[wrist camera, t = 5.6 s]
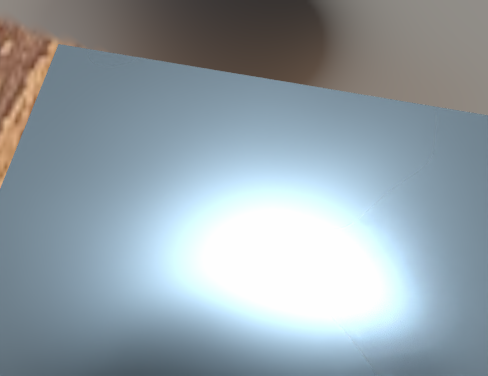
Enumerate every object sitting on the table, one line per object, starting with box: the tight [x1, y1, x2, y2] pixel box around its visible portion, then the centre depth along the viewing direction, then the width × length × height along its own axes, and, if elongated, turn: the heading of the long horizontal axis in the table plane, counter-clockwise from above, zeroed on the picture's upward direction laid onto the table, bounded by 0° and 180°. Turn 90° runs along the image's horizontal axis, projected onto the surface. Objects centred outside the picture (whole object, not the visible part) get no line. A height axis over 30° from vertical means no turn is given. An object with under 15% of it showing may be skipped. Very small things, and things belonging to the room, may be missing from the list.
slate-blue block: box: [0, 44, 488, 376], centre depth 8 cm, size 4×5×13 cm
